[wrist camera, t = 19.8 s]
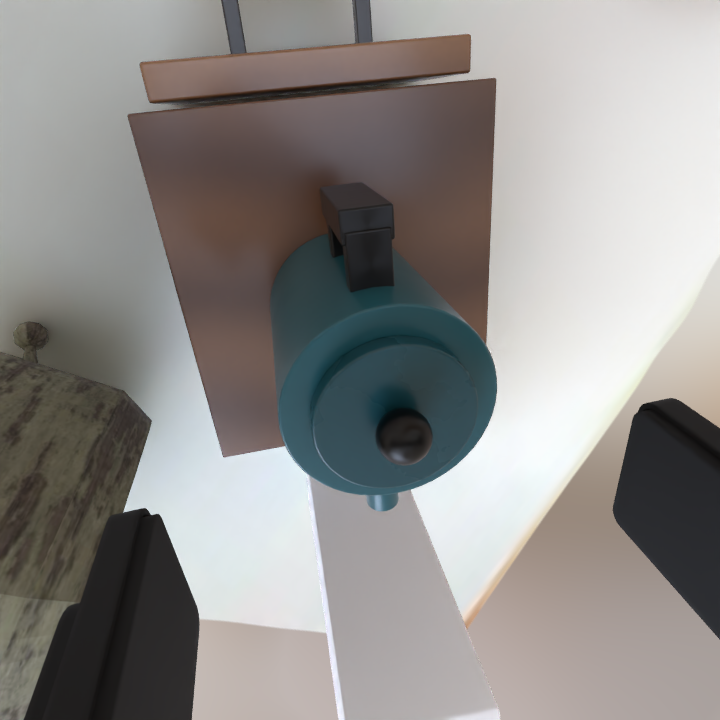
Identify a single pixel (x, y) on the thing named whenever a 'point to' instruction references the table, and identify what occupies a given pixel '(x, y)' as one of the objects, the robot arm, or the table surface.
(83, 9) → the table surface
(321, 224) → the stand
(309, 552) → the table surface
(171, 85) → the drawer
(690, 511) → the robot arm
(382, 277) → the kettle
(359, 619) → the milk
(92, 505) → the green bell
